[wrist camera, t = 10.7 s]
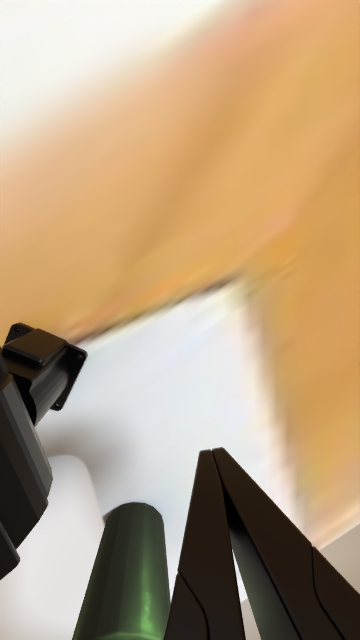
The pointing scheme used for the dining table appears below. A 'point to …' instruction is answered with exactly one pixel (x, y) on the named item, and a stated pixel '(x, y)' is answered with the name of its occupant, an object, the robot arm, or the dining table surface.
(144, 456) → the dining table surface
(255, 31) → the dining table surface
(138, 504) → the potion bottle
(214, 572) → the robot arm
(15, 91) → the dining table surface
